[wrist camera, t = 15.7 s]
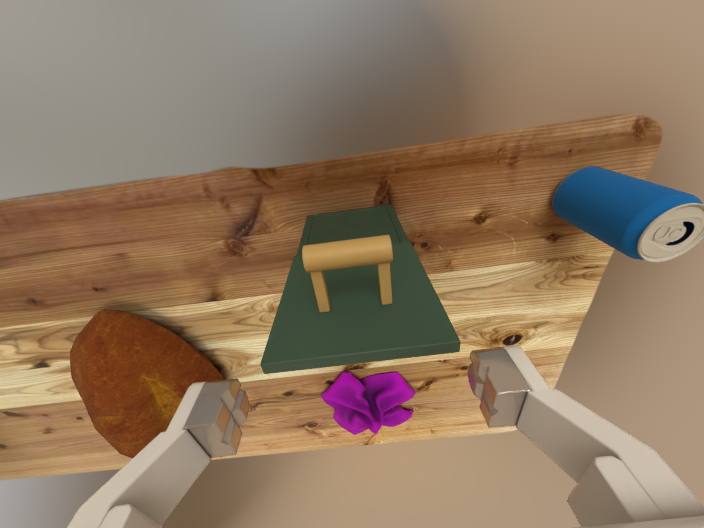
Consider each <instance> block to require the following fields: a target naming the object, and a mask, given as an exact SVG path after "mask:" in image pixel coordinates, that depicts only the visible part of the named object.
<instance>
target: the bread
mask: <svg viewBox="0 0 704 528" xmlns="http://www.w3.org/2000/svg"><path fill="white" fill-rule="evenodd" d="M70 365H71V375H72V379H73V381H74V384H75V386H76V388H77V390H78V392H79V394H80V396H81V398H82V400H83V402H84V404H85V406H86V409H87V411H88V414H89V416H90V418H91V420H92V423H93V425H94V427H95V429H96V430H97V431H98V432H99V433H100V434H101V435H102V436H103V437H104V438H105V439H106V440H107V441H108V442H109V443H110V444H111V445H112V446H113V447H114V448H115V449H116V450H117V451H118V452H119V453H120V454H122V455H125V456H128V457H131V458H134V457H135V456H136V455H137V454H138V453H139V452H140V451H141V450H142V449H144V448H145V447H146V446H147V445H148V444H149V443H150V442H151V441H152V440H153V439H154V438H156V437H157V436H158V435H159V434H160V433H161V432H166V430H167V428H168V426H169V424H170V422H171V420H172V418H173V416H174V415H175V413H176V411H177V409H178V407H179V405H180V403H181V401H182V399H183V397H184V395H185V393H186V391H187V389H188V388H189V387H190V386H191V385H192V384H193V383H198V382H207V381H219V380H224V378H223V376H222V375H221V374H220V372H219V371H218V370H217V369H216V367H215V366H214V365H213V364H212V362H211V361H210V360H209V359H208V358H207V357H206V356H205V355H203V354H202V353H201V352H199V351H198V350H197V349H196V348H194V347H193V346H192V345H190V344H189V343H188V342H186V341H185V340H184V339H182V338H181V337H180V336H178V335H177V334H175V333H173V332H171V331H170V330H168V329H166V328H164V327H162V326H160V325H158V324H156V323H154V322H152V321H150V320H147V319H145V318H142V317H140V316H137V315H135V314H132V313H129V312H124V311H119V310H103V311H100V312H98V313H97V314H96V315H95V316H94V317H93V318H92V319H91V320H90V322H89V323H88V324H87V325H86V326H85V327H84V329H83V330H82V331H81V332H80V333H79V335H78V336H77V337H76V339H75V341H74V344H73V346H72V349H71V351H70Z"/></svg>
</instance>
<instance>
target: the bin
mask: <svg viewBox="0 0 704 528" xmlns="http://www.w3.org/2000/svg"><path fill="white" fill-rule="evenodd" d="M382 235H389V236H390V238H391V243H392V244H394V243H401V242H409V241H408V239H407V237H406V235H405V232H404V230H403V228H402V226H401V224H400V221H399V219H398V217H397V215H396V213H395V210H394V208H393V206H392V205H384V206H377V207H369V208H362V209H354V210H347V211H340V212H332V213H325V214H317V215H310V216H307V219H306V223H305V227H304V231H303V234H302V238H301V242H300V246H299V249H298V253H297V256H300V255H302V249H303V246H305V245H313V244H320V243H328V242H336V241H344V240H351V239H359V238H367V237H374V236H382Z"/></svg>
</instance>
